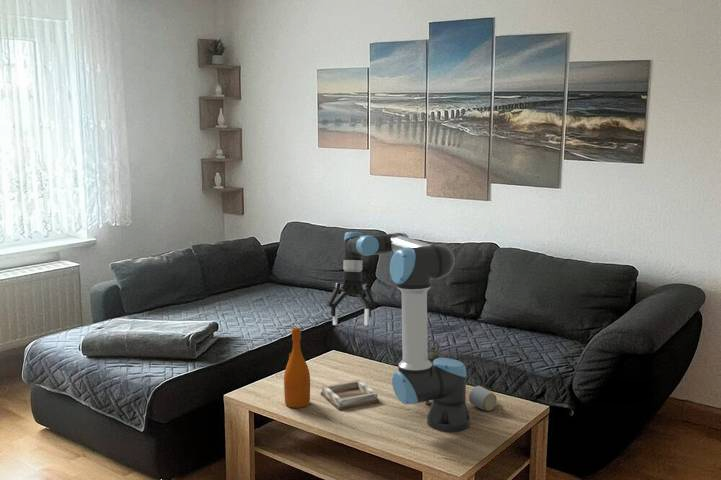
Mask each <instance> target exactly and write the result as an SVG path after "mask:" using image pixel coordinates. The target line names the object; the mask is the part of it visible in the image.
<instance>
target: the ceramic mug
mask: <svg viewBox="0 0 721 480" xmlns="http://www.w3.org/2000/svg"><path fill="white" fill-rule="evenodd" d="M497 398H498V397H497V396H496V394H495V393H494V392H492V391H491V390H489V389H487V388H485V387H483V386H481V385H476V386H474V387H473V388H471V391H470V392H469V395H468V401H469V403H470V404H471V405H472V406H474V407H476V408H479V409H480V410H482V411H486V412H490V411H492V410H493V409H494V408H495V407H499V401H498V400H497Z"/></svg>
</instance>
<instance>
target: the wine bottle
mask: <svg viewBox="0 0 721 480" xmlns="http://www.w3.org/2000/svg"><path fill="white" fill-rule="evenodd" d="M301 332H302V330H301V328H300V327H294V328H292V329H291V335H292V337H291V340H292V350H291V352H289V355H288V361H287V364H286V367H285V370H284V374H283V392H284V394H283V395H284V403H285V405H286V406H287V407H290V408H295V409H298V408H304V407H306V406H308V405H310V402H311V374H310V373H311V372H310V369H309V366H308V364H307V362H306V360H305V358H304V356H303V353H302V349H301V339H302V338H301V337H302V336H301V335H302V333H301Z"/></svg>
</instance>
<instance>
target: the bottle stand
mask: <svg viewBox="0 0 721 480" xmlns="http://www.w3.org/2000/svg"><path fill="white" fill-rule="evenodd" d="M321 390H322V391H320V396H322V397H323V398H324V399H325V400H326V401H327V402H329V403H330V404H331V405H332V407H334V408H336V410H338V411H343V410H347V409H353V408H357V407H362V406H369V405H374V404H379V403H380V399H379V398H378V394H379V393H378V392H376V391H375V390H374V389H372V388H371V387H370V386H368V385H367V384H366V383H364V382H363V381H361V380H360V379H355V380H350V381H345V382H339V383H333V384H328V385H322V386H321Z"/></svg>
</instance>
